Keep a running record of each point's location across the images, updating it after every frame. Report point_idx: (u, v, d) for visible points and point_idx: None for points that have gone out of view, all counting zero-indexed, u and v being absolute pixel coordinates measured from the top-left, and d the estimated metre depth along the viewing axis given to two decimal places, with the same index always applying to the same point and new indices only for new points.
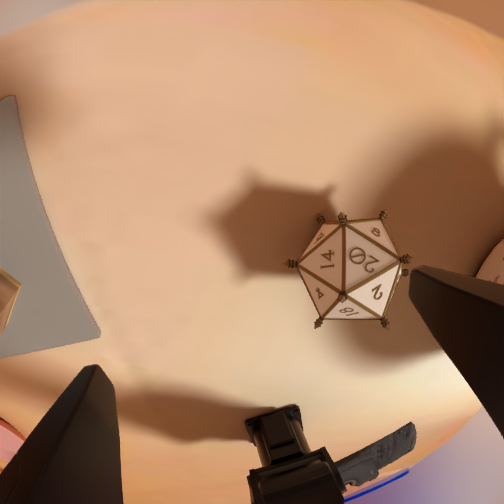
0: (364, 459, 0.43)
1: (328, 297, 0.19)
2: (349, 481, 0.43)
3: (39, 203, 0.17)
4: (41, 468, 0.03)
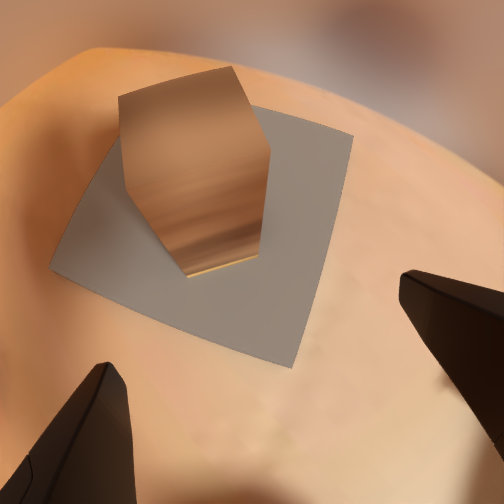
0: None
1: None
2: None
3: (335, 215, 0.23)
4: (56, 469, 0.03)
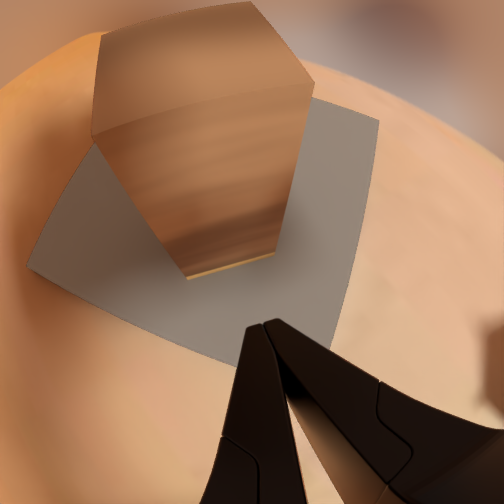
0: None
1: None
2: None
3: None
4: (285, 436, 0.04)
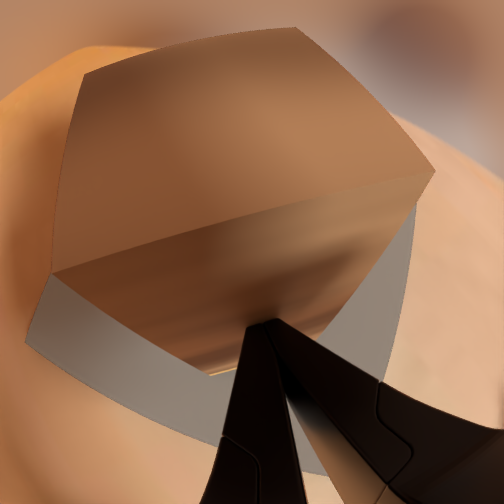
0: None
1: None
2: None
3: None
4: (285, 436, 0.04)
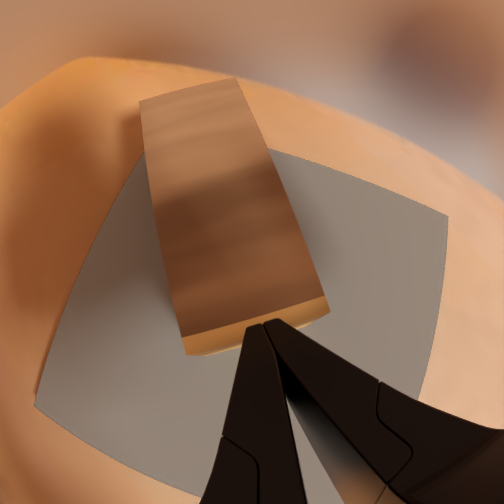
0: None
1: None
2: None
3: None
4: (285, 436, 0.04)
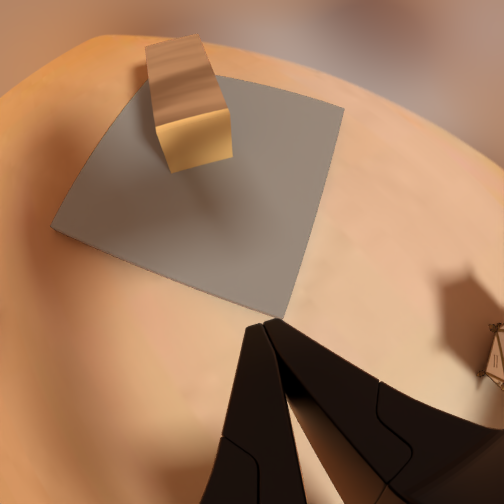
0: None
1: None
2: None
3: (326, 176, 0.24)
4: (285, 436, 0.04)
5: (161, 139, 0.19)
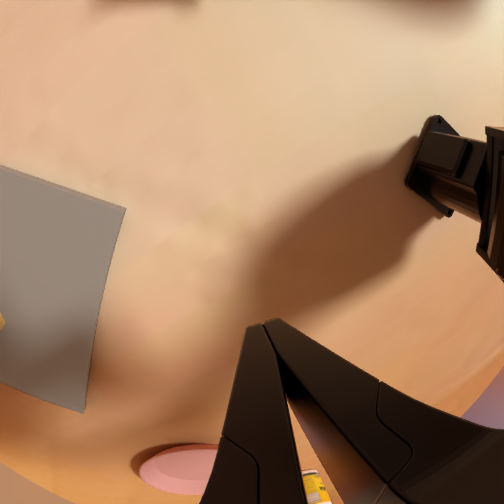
0: None
1: None
2: None
3: None
4: (285, 436, 0.04)
5: None
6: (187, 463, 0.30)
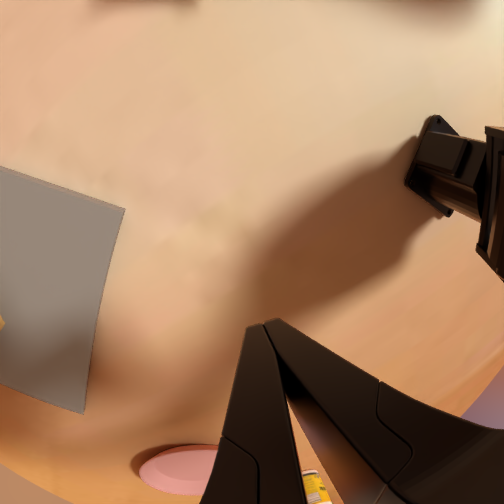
0: None
1: None
2: None
3: None
4: (285, 436, 0.04)
5: None
6: (187, 464, 0.30)
